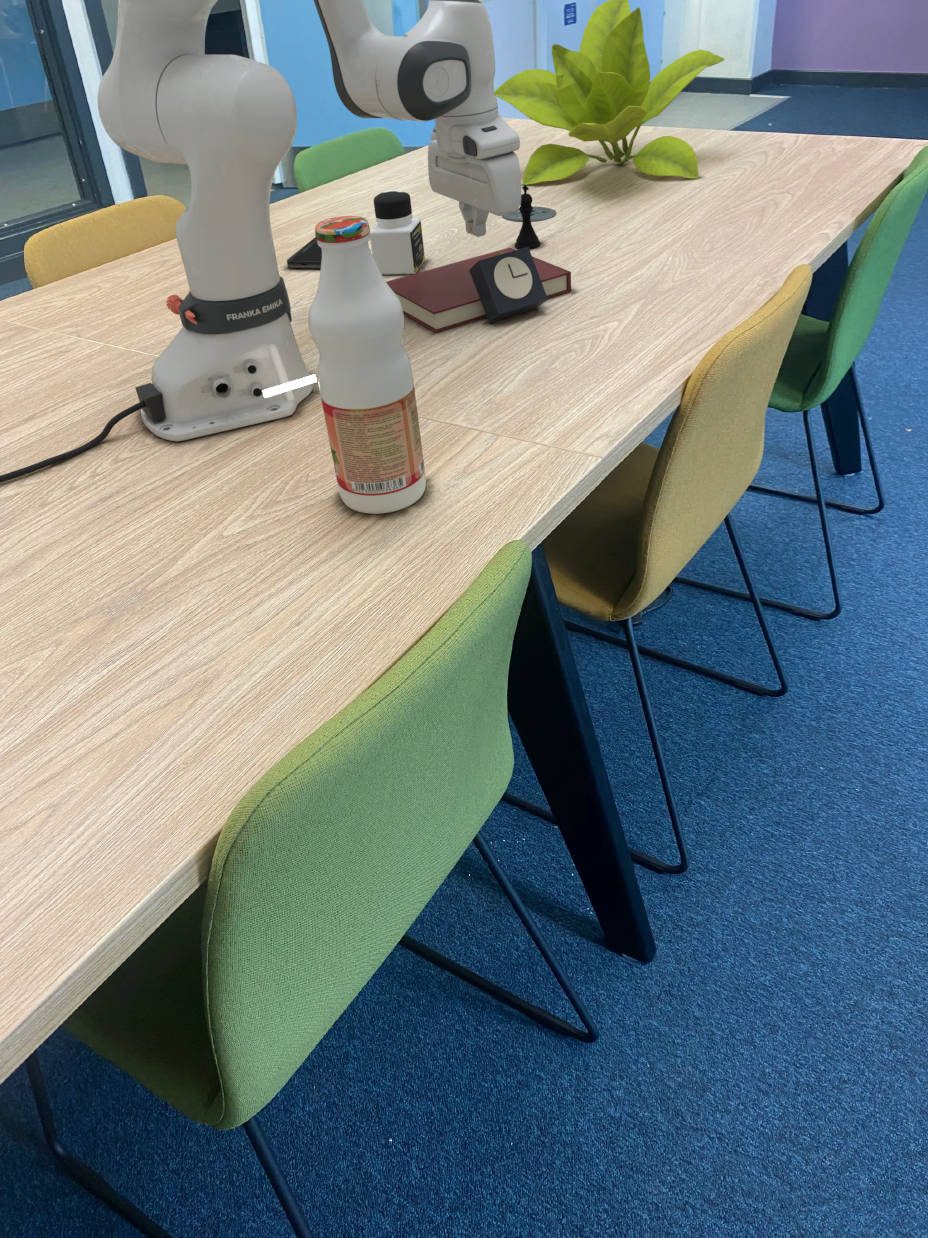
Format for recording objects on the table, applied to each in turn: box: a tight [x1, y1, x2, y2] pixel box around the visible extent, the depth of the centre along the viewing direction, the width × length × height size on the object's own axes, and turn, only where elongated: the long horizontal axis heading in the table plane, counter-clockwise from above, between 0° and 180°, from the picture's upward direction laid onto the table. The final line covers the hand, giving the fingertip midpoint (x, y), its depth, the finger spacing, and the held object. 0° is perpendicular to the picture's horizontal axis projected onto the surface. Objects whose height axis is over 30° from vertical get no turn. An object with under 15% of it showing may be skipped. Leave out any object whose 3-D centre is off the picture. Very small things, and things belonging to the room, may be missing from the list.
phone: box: [286, 236, 322, 269], centre depth 172 cm, size 8×1×15 cm
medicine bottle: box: [369, 189, 426, 276], centre depth 160 cm, size 7×7×12 cm
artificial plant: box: [494, 0, 726, 186], centre depth 193 cm, size 42×43×30 cm
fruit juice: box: [307, 215, 427, 515], centre depth 95 cm, size 9×9×28 cm
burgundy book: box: [386, 247, 572, 333], centre depth 148 cm, size 24×17×3 cm
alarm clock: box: [469, 247, 549, 323], centre depth 139 cm, size 9×7×8 cm
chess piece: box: [514, 185, 541, 250], centre depth 164 cm, size 4×4×10 cm
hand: (476, 233), depth 143 cm, fingers closed
